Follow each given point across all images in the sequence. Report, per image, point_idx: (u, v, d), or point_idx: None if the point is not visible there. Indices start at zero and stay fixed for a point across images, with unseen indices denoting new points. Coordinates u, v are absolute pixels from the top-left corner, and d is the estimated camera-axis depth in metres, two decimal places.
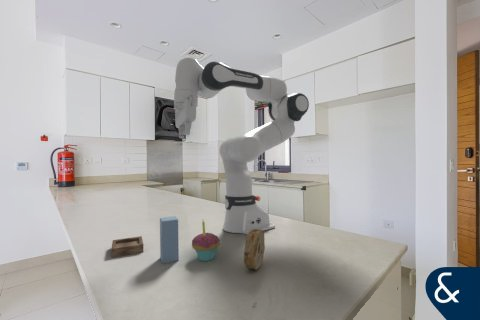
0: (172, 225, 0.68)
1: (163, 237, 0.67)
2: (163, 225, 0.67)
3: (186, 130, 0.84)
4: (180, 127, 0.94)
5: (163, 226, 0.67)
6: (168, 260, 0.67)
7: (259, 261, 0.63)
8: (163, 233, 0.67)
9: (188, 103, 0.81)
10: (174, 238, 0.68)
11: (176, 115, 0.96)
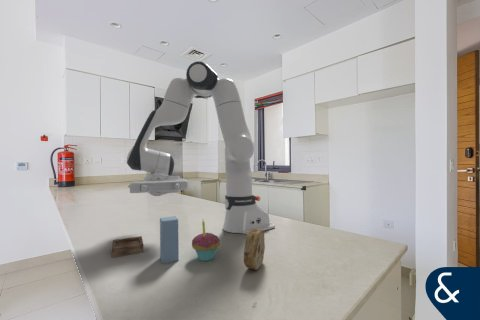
0: (172, 225, 0.68)
1: (163, 237, 0.67)
2: (163, 225, 0.67)
3: (144, 189, 0.79)
4: None
5: (163, 226, 0.67)
6: (168, 260, 0.67)
7: (259, 261, 0.63)
8: (163, 233, 0.67)
9: None
10: (174, 238, 0.68)
11: (179, 189, 0.92)
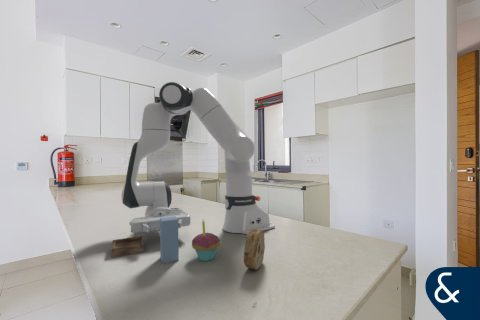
0: (172, 225, 0.68)
1: (163, 237, 0.67)
2: (163, 225, 0.67)
3: (146, 230, 0.76)
4: None
5: (163, 226, 0.67)
6: (168, 260, 0.67)
7: (259, 261, 0.63)
8: (163, 233, 0.67)
9: None
10: (174, 238, 0.68)
11: None
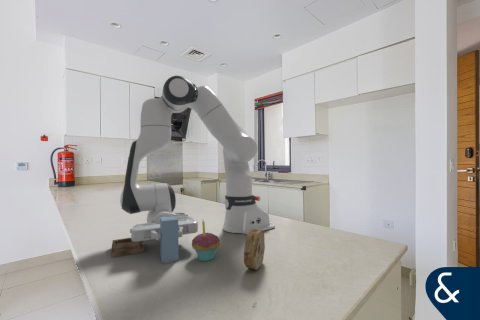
0: (172, 225, 0.68)
1: (163, 237, 0.67)
2: (163, 225, 0.67)
3: (155, 238, 0.68)
4: None
5: (163, 226, 0.67)
6: (168, 260, 0.67)
7: (259, 261, 0.63)
8: (163, 233, 0.67)
9: None
10: (174, 238, 0.68)
11: None
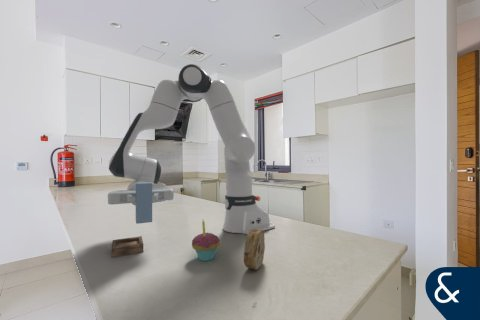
0: (146, 189, 0.72)
1: (137, 199, 0.71)
2: (137, 187, 0.71)
3: (130, 200, 0.72)
4: None
5: (137, 188, 0.71)
6: (142, 221, 0.71)
7: (259, 261, 0.63)
8: (137, 195, 0.71)
9: None
10: (148, 201, 0.72)
11: None
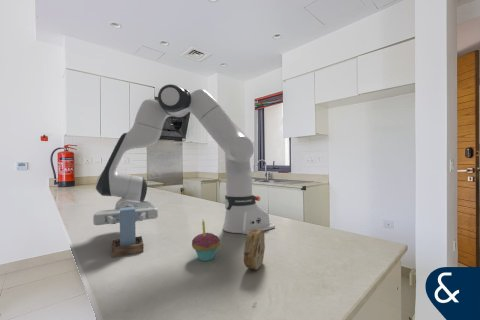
0: (129, 215, 0.76)
1: (121, 225, 0.74)
2: (121, 214, 0.74)
3: (111, 222, 0.76)
4: None
5: (121, 215, 0.74)
6: (125, 245, 0.75)
7: (259, 261, 0.63)
8: (121, 221, 0.74)
9: None
10: (131, 226, 0.76)
11: None
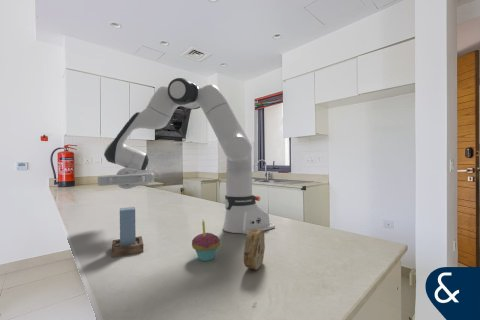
0: (129, 215, 0.76)
1: (121, 225, 0.74)
2: (121, 214, 0.74)
3: (111, 182, 0.87)
4: None
5: (121, 215, 0.74)
6: (125, 245, 0.75)
7: (259, 261, 0.63)
8: (121, 221, 0.74)
9: None
10: (131, 226, 0.76)
11: None
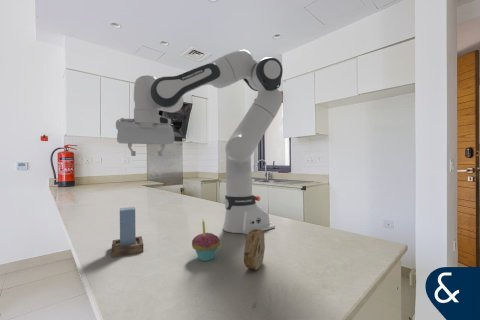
0: (129, 215, 0.76)
1: (121, 225, 0.74)
2: (121, 214, 0.74)
3: (131, 152, 0.87)
4: None
5: (121, 215, 0.74)
6: (125, 245, 0.75)
7: (259, 261, 0.63)
8: (121, 221, 0.74)
9: None
10: (131, 226, 0.76)
11: None
